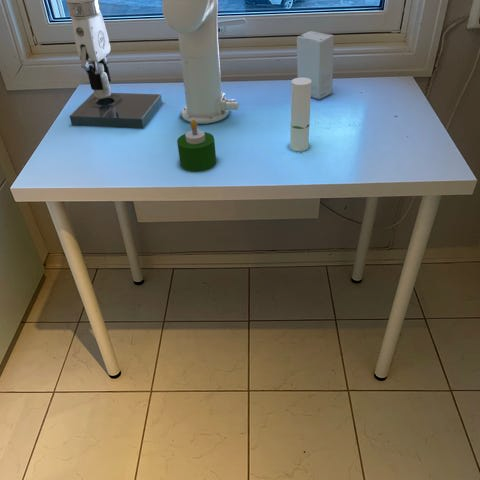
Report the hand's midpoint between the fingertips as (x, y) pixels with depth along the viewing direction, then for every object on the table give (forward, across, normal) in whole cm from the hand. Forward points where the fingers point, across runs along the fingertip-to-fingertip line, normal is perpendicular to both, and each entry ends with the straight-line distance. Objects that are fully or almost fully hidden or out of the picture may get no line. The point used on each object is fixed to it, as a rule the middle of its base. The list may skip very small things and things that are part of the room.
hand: (101, 84), depth 139 cm
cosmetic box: (+7, +16, -55) cm, 58 cm away
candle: (+7, -26, -33) cm, 43 cm away
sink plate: (+7, -2, -4) cm, 8 cm away
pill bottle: (+3, 0, 0) cm, 3 cm away
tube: (+7, -16, -55) cm, 58 cm away
